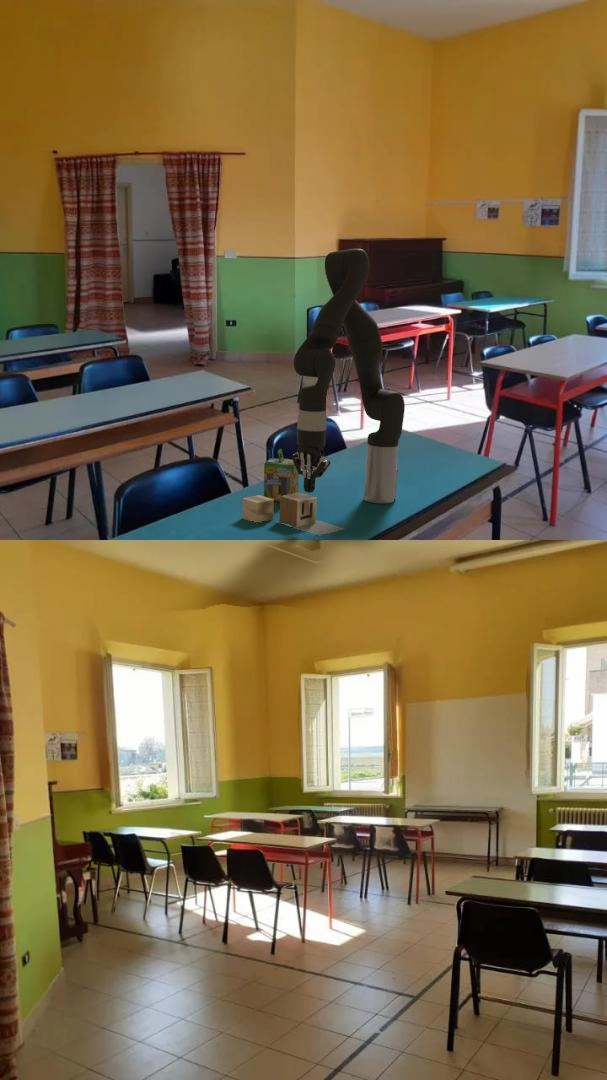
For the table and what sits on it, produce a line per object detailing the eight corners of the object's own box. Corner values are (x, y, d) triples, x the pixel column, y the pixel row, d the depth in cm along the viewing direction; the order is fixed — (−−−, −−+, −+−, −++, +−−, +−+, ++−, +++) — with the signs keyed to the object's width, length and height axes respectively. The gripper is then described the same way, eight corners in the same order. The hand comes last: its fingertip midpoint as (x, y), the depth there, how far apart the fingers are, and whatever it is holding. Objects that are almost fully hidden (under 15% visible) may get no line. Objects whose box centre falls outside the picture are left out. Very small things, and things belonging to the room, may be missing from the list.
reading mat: (303, 516, 233) (303, 515, 233) (344, 529, 222) (344, 528, 222) (274, 522, 226) (274, 522, 226) (316, 536, 215) (316, 536, 215)
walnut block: (315, 522, 227) (297, 516, 232) (317, 497, 225) (298, 492, 230) (297, 526, 222) (279, 520, 227) (298, 501, 220) (280, 496, 225)
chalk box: (292, 503, 246) (294, 454, 241) (262, 501, 247) (264, 451, 243) (299, 496, 254) (301, 448, 250) (270, 493, 256) (271, 446, 252)
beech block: (258, 515, 232) (259, 495, 230) (273, 520, 228) (273, 499, 226) (242, 519, 228) (242, 498, 226) (256, 524, 224) (257, 502, 222)
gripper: (340, 429, 215) (336, 494, 220) (304, 422, 223) (301, 485, 229) (319, 432, 209) (316, 499, 215) (283, 424, 218) (281, 488, 224)
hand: (308, 491), depth 222 cm, fingers closed
